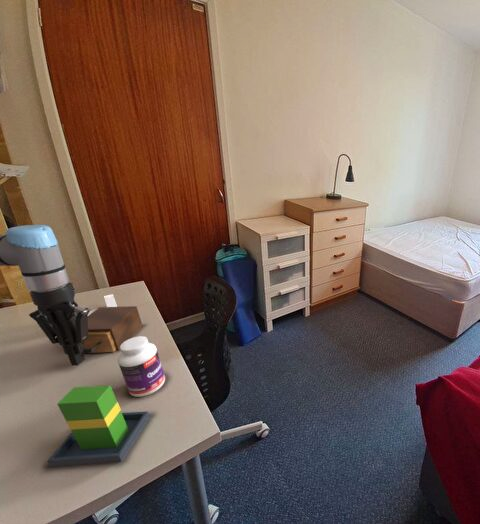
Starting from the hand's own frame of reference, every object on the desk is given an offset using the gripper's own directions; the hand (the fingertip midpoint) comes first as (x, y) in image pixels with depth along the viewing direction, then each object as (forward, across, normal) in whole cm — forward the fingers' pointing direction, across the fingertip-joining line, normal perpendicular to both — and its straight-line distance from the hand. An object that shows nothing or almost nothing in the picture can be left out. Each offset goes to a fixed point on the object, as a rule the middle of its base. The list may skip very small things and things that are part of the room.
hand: (78, 362), depth 79 cm
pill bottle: (+3, -22, +7) cm, 23 cm away
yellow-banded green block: (+3, -22, +22) cm, 31 cm away
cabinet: (+2, 0, -13) cm, 14 cm away
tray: (+4, -21, +22) cm, 31 cm away
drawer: (+1, 0, -10) cm, 10 cm away
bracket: (+1, +13, -25) cm, 29 cm away
